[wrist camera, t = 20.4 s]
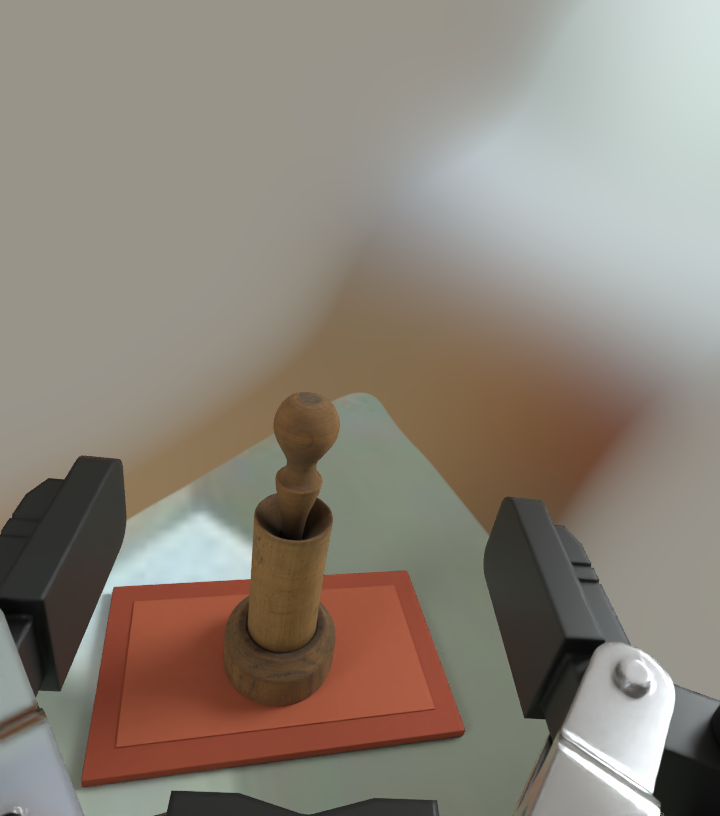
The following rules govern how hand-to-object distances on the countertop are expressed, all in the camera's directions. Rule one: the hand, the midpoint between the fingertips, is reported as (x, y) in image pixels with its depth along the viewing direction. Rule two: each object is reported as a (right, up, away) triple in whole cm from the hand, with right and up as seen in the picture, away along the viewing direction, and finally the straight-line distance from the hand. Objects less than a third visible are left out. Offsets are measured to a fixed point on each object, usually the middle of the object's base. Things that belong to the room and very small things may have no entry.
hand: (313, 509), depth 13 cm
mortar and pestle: (-4, -13, +23) cm, 27 cm away
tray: (-4, -13, +24) cm, 27 cm away
